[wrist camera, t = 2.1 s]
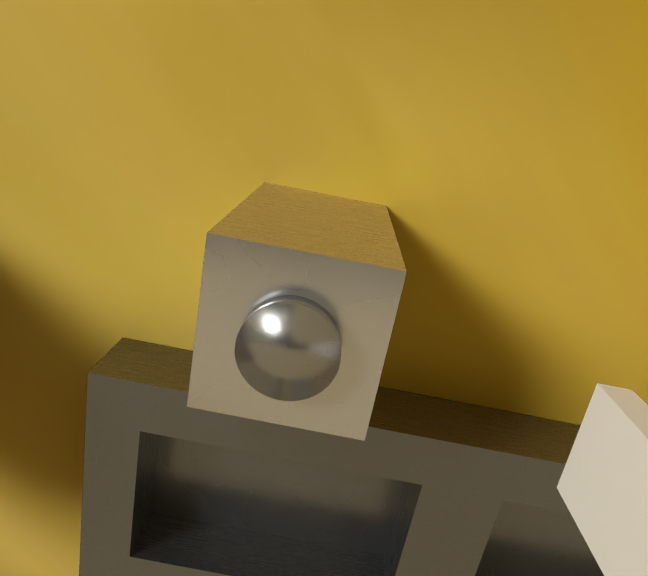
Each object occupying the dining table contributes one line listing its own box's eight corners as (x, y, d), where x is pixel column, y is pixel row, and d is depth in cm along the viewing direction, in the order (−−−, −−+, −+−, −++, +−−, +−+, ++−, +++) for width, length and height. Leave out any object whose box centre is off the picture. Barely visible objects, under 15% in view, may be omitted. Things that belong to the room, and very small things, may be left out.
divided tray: (122, 337, 22) (87, 372, 19) (796, 466, 22) (862, 521, 19) (109, 529, 25) (78, 584, 22) (696, 640, 25) (739, 708, 22)
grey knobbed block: (264, 182, 19) (199, 239, 11) (386, 206, 19) (409, 280, 11) (247, 296, 21) (179, 420, 13) (360, 318, 21) (365, 455, 13)
